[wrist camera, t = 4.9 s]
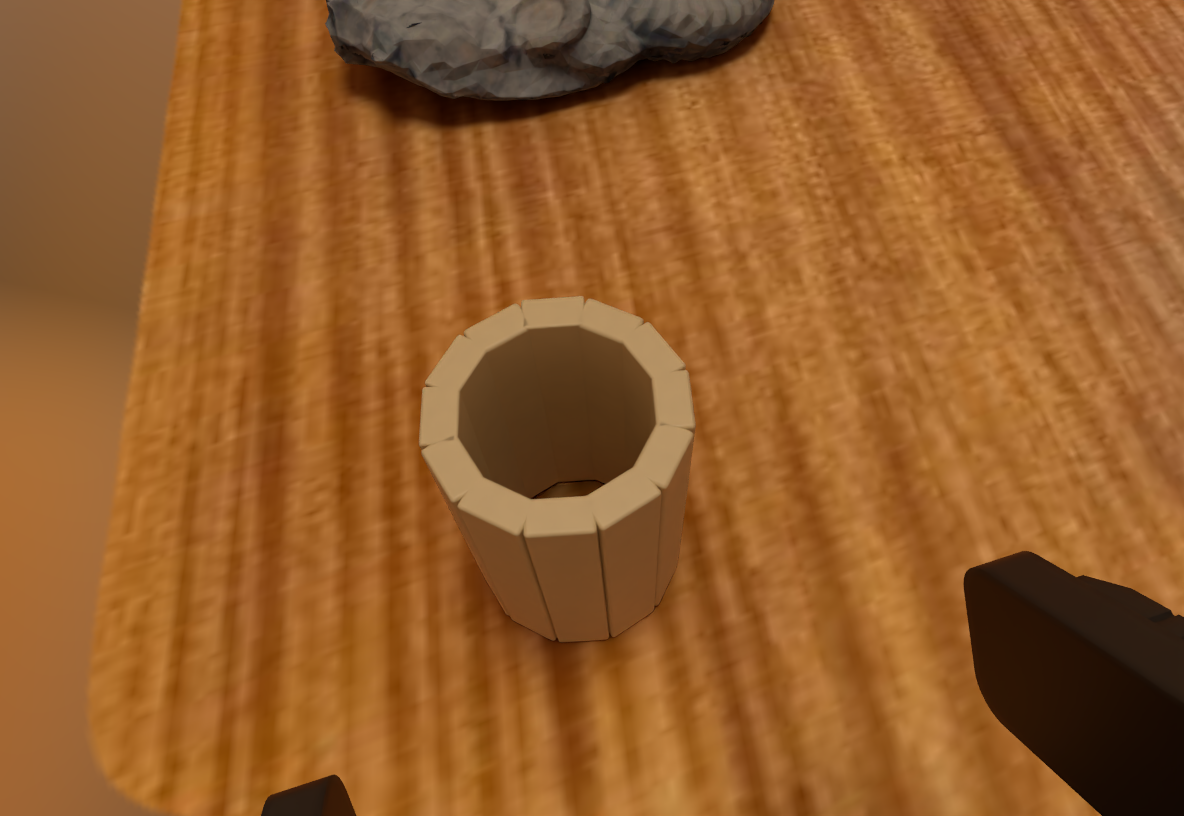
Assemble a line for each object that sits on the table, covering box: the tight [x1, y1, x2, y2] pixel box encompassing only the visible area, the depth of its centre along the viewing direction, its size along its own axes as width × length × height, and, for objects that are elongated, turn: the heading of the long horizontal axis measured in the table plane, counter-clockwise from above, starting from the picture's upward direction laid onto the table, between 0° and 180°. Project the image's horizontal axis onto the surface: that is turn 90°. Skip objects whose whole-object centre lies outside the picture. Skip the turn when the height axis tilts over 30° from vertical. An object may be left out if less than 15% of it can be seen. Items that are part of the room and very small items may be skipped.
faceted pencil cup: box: [419, 296, 696, 642], centre depth 20 cm, size 6×6×8 cm
